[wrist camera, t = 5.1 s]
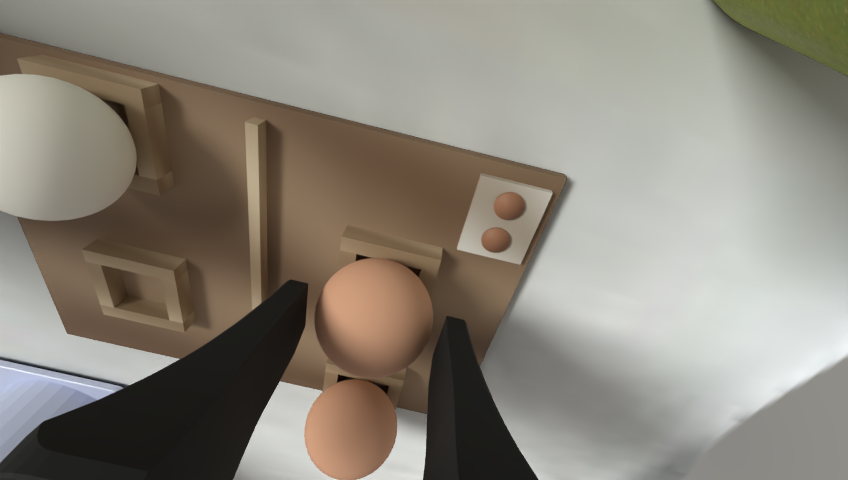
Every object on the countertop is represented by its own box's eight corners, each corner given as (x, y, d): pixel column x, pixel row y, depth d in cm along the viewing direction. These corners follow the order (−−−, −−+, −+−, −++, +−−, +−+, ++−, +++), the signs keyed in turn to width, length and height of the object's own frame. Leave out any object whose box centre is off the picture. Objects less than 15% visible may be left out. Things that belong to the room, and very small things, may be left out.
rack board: (453, 416, 21) (452, 438, 20) (75, 331, 20) (54, 349, 19) (564, 174, 13) (572, 190, 12) (-52, 20, 12) (-99, 23, 11)
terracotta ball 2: (395, 420, 20) (380, 506, 17) (319, 403, 20) (288, 486, 17) (410, 371, 18) (396, 460, 14) (324, 352, 18) (291, 437, 14)
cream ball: (173, 196, 14) (80, 262, 11) (60, 169, 14) (-71, 228, 10) (155, 80, 12) (29, 118, 8) (21, 48, 12) (-163, 72, 8)
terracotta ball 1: (423, 323, 16) (414, 413, 13) (329, 302, 16) (295, 389, 13) (447, 249, 14) (443, 336, 11) (337, 224, 14) (299, 305, 10)
